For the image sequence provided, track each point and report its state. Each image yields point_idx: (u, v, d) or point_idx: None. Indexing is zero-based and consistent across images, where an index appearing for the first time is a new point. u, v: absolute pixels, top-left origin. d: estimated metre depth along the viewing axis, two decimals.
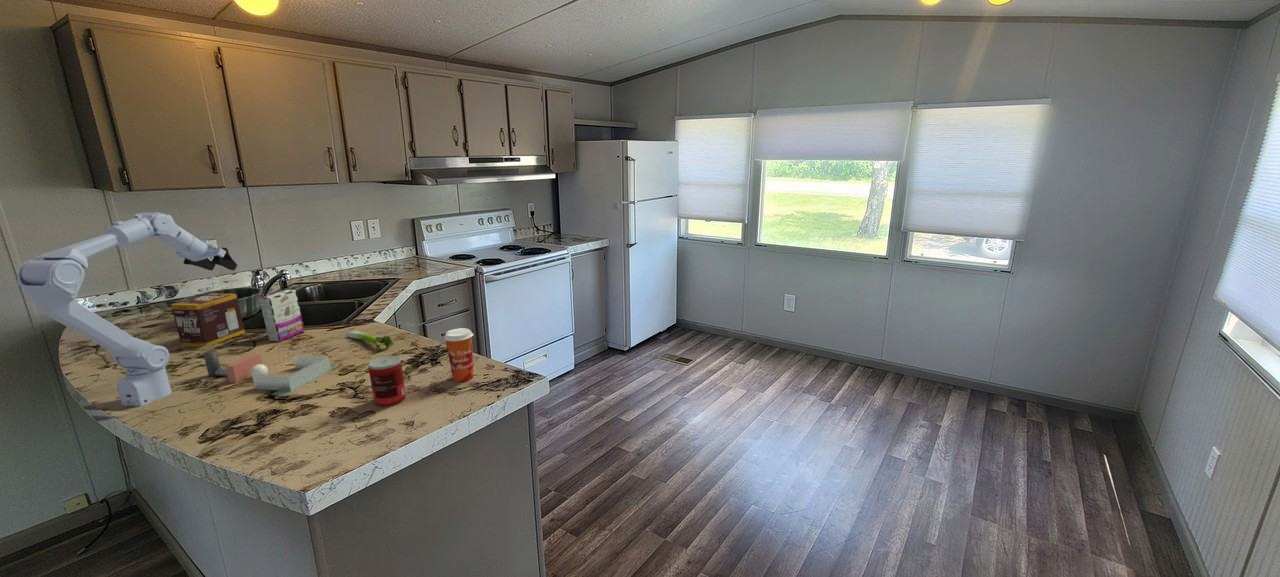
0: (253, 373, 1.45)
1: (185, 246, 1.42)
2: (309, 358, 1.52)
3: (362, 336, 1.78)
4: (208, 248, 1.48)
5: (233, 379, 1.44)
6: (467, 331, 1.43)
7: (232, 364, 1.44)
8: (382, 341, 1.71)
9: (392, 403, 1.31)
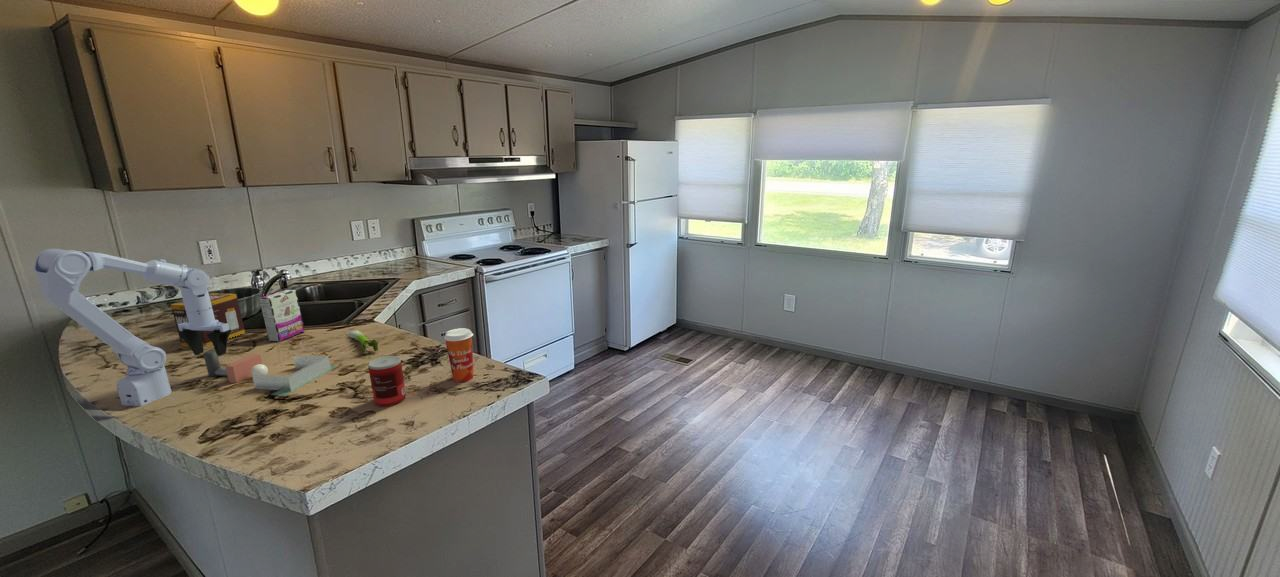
0: (253, 373, 1.45)
1: (195, 309, 1.42)
2: (309, 358, 1.52)
3: (358, 337, 1.77)
4: (214, 323, 1.47)
5: (233, 379, 1.44)
6: (467, 331, 1.43)
7: (232, 364, 1.44)
8: (370, 344, 1.68)
9: (392, 403, 1.31)
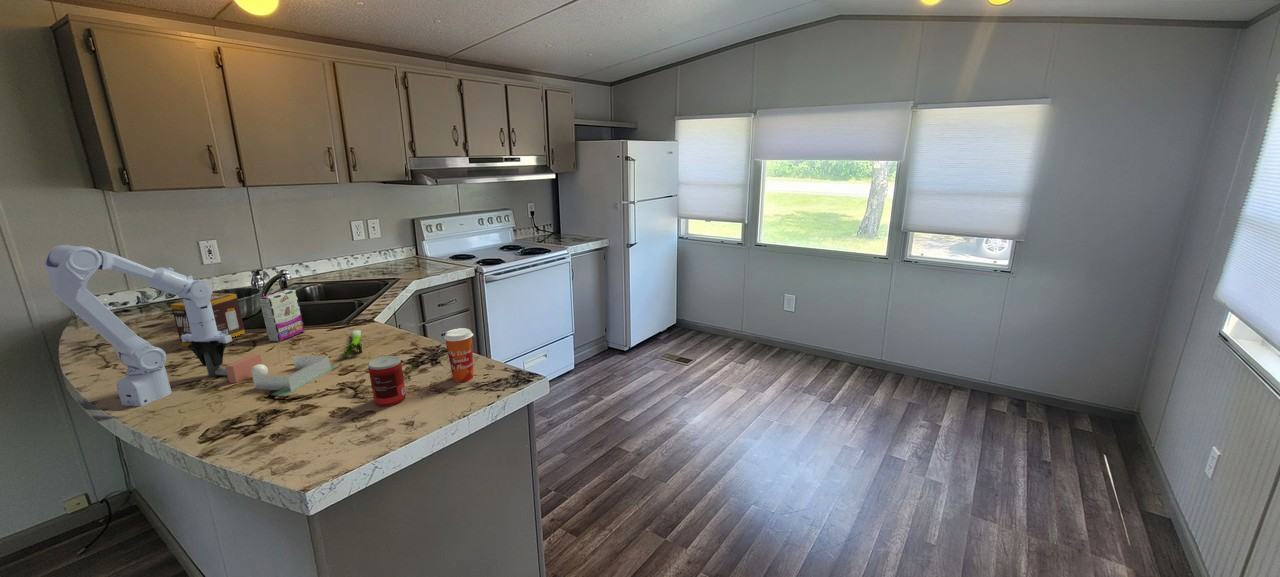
0: (253, 373, 1.45)
1: (198, 321, 1.43)
2: (309, 358, 1.52)
3: (352, 338, 1.76)
4: (217, 335, 1.47)
5: (233, 379, 1.44)
6: (467, 331, 1.43)
7: (232, 364, 1.44)
8: (356, 347, 1.66)
9: (392, 403, 1.31)
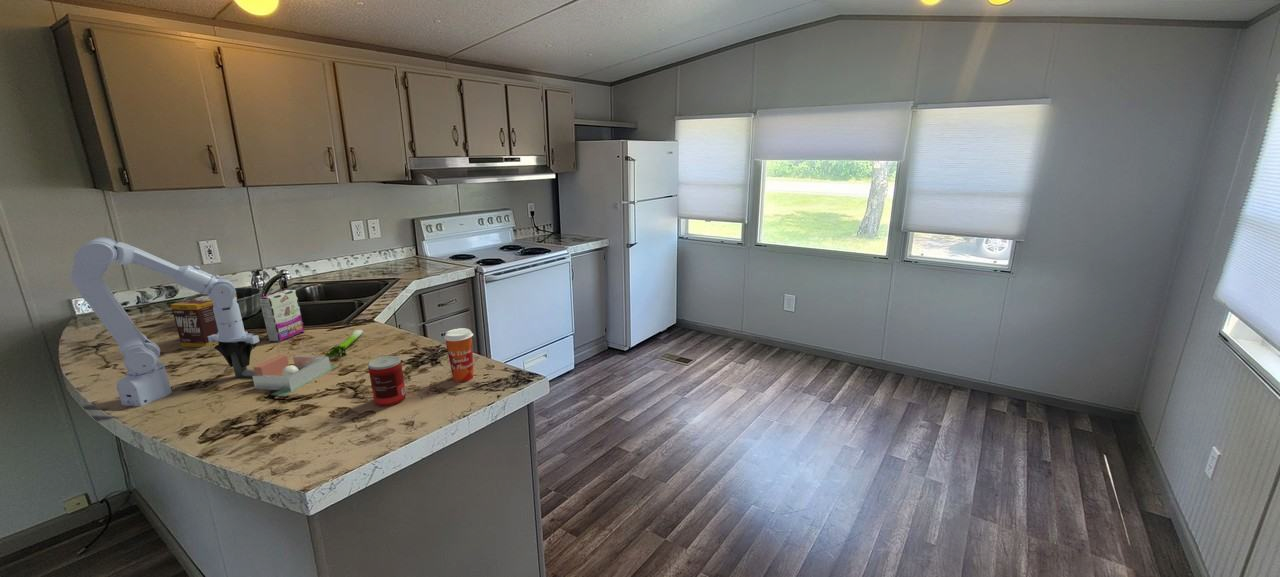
0: (284, 375, 1.44)
1: (221, 322, 1.42)
2: (309, 358, 1.52)
3: (348, 338, 1.76)
4: (244, 335, 1.46)
5: None
6: (467, 331, 1.43)
7: (260, 365, 1.43)
8: (342, 349, 1.64)
9: (392, 403, 1.31)
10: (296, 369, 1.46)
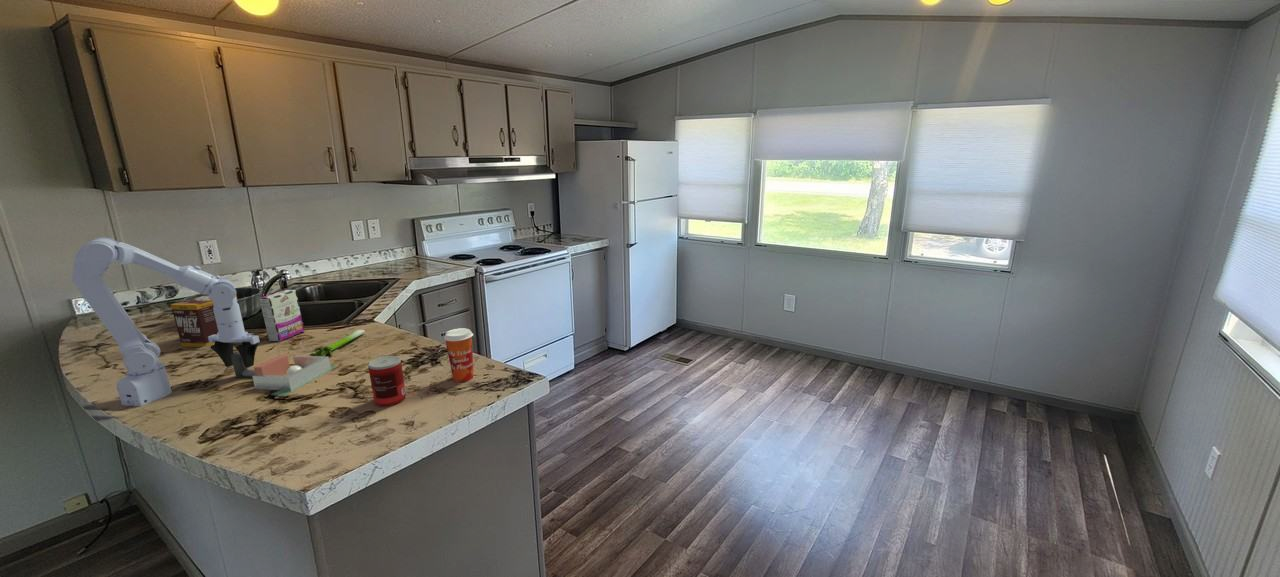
0: (289, 374, 1.44)
1: (221, 322, 1.41)
2: (309, 358, 1.52)
3: None
4: (244, 335, 1.46)
5: None
6: (467, 331, 1.43)
7: (261, 365, 1.43)
8: None
9: (392, 403, 1.31)
10: None
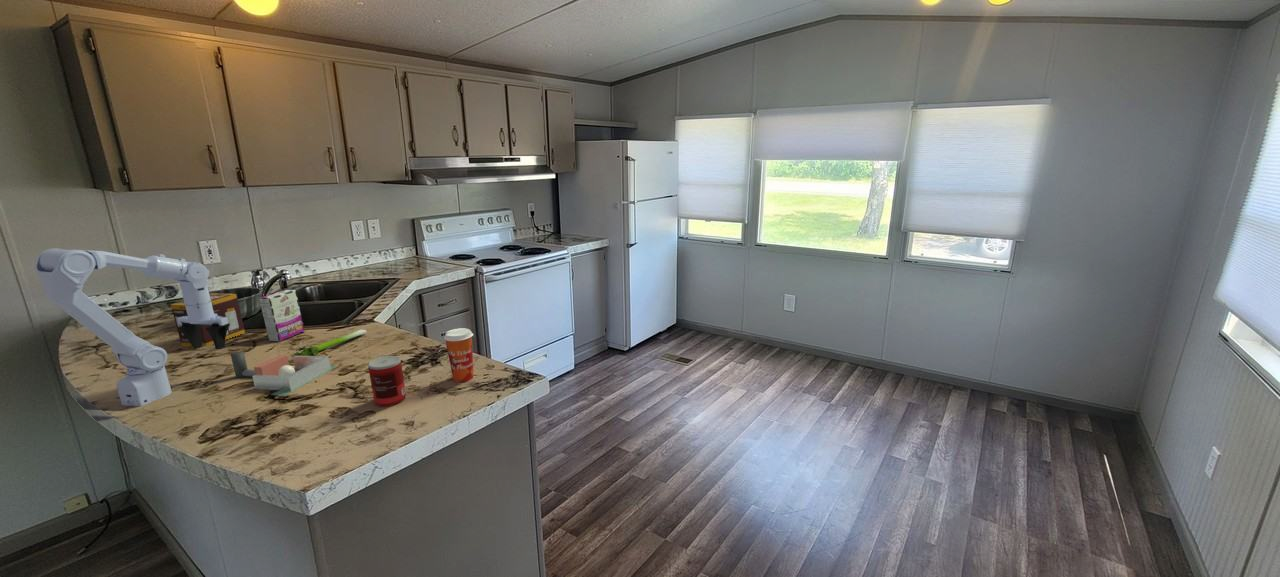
0: (280, 375, 1.44)
1: (195, 302, 1.43)
2: (309, 358, 1.52)
3: None
4: (213, 317, 1.47)
5: None
6: (467, 331, 1.43)
7: (261, 365, 1.43)
8: None
9: (392, 403, 1.31)
10: (289, 366, 1.46)
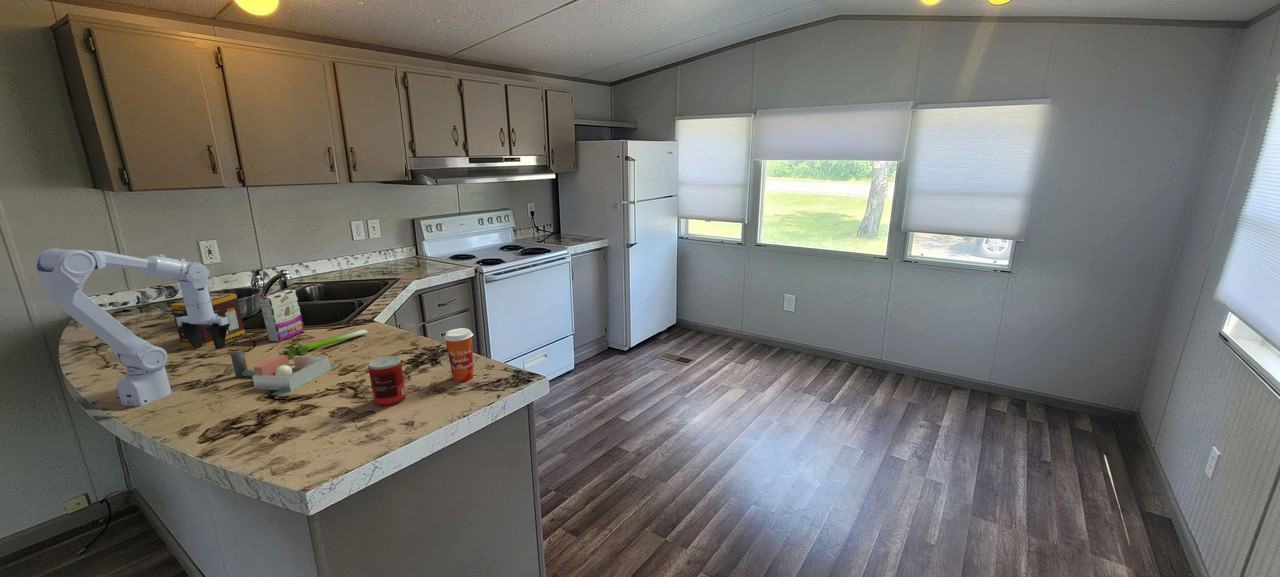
0: (278, 375, 1.44)
1: (195, 302, 1.43)
2: (309, 358, 1.52)
3: None
4: (213, 317, 1.47)
5: None
6: (467, 331, 1.43)
7: (261, 365, 1.43)
8: None
9: (392, 403, 1.31)
10: (283, 365, 1.46)
